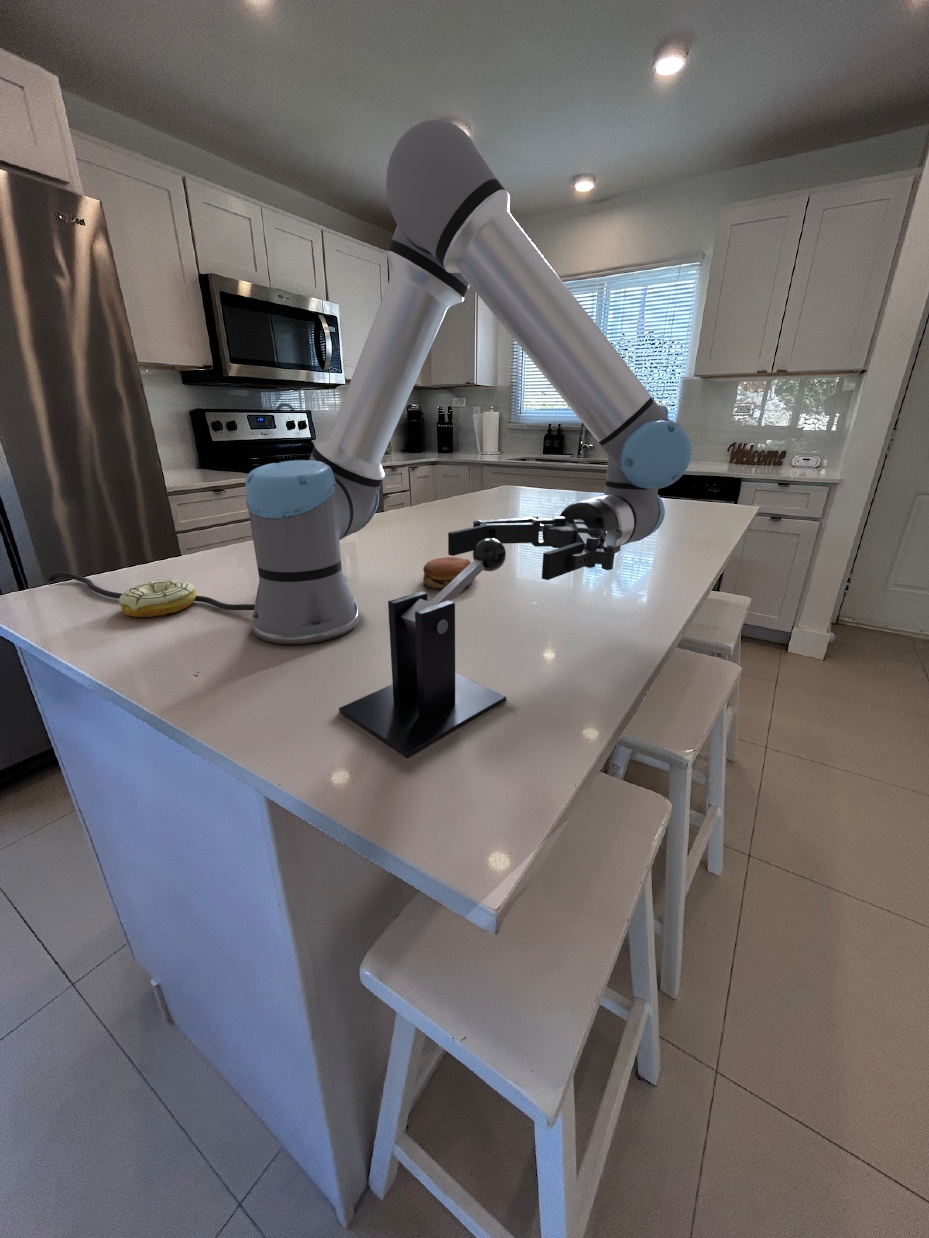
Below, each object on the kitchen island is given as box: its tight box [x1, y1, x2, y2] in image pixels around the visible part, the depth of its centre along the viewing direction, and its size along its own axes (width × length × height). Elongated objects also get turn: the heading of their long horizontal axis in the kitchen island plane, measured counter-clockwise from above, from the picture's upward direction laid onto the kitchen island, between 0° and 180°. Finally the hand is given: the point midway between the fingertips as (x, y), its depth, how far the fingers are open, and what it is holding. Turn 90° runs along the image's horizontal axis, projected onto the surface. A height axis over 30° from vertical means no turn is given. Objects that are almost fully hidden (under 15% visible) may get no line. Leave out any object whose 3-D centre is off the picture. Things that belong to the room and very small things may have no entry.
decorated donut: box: [118, 578, 197, 618], centre depth 83 cm, size 10×11×4 cm
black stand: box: [338, 590, 507, 759], centre depth 52 cm, size 14×11×13 cm
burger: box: [422, 556, 475, 589], centre depth 96 cm, size 10×9×5 cm
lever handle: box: [401, 538, 507, 636], centre depth 53 cm, size 14×4×4 cm, turn 136°
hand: (493, 554), depth 56 cm, fingers open, 13 cm apart
